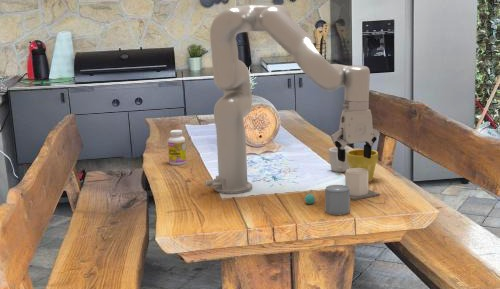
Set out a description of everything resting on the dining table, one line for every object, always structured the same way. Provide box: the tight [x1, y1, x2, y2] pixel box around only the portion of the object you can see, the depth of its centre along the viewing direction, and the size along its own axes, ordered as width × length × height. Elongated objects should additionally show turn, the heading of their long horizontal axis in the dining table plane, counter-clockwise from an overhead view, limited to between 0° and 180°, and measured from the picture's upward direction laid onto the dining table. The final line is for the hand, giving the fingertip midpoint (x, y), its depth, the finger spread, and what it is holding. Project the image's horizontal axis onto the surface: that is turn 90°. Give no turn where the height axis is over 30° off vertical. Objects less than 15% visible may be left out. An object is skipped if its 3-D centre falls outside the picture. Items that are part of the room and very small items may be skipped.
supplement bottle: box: [167, 129, 187, 166], centre depth 279 cm, size 7×7×13 cm
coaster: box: [350, 189, 380, 201], centre depth 231 cm, size 10×10×1 cm
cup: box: [328, 146, 352, 173], centre depth 258 cm, size 11×8×8 cm
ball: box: [304, 193, 316, 205], centre depth 222 cm, size 3×3×3 cm
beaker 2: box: [344, 168, 369, 196], centre depth 230 cm, size 7×7×7 cm
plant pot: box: [347, 148, 379, 183], centre depth 246 cm, size 10×10×10 cm
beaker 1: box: [324, 184, 351, 216], centre depth 213 cm, size 7×7×7 cm
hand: (354, 159), depth 229 cm, fingers open, 9 cm apart
